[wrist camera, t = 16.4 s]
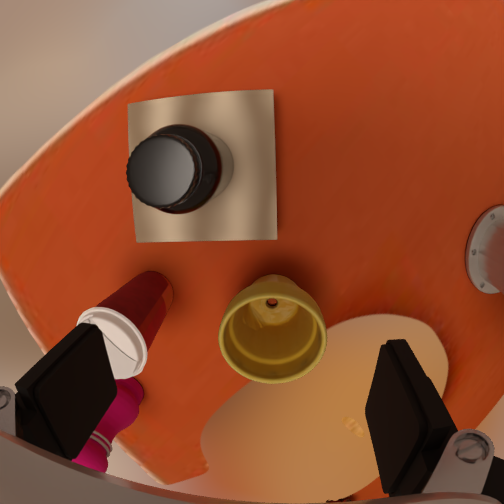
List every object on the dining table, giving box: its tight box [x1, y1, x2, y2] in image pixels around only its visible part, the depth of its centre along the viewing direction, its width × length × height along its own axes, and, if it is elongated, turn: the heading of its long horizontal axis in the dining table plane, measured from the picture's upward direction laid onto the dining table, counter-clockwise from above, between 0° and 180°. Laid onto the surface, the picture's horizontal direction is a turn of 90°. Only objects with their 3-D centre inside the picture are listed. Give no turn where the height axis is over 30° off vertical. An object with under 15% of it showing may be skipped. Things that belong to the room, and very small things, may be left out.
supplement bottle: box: [126, 124, 234, 214], centre depth 25 cm, size 7×7×12 cm
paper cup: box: [77, 271, 173, 379], centre depth 32 cm, size 8×8×14 cm
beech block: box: [128, 90, 277, 243], centre depth 32 cm, size 15×15×4 cm
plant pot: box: [218, 274, 327, 384], centre depth 34 cm, size 10×10×10 cm
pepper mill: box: [72, 377, 144, 473], centre depth 35 cm, size 7×7×20 cm
